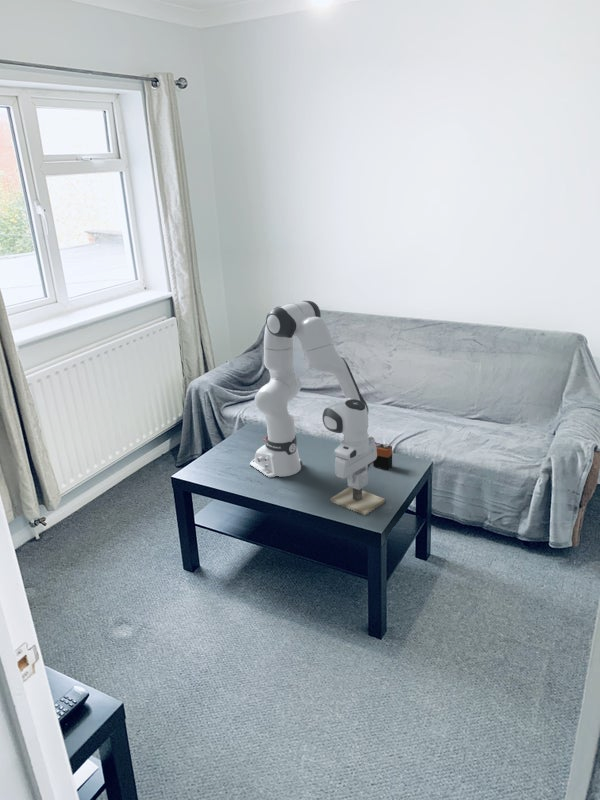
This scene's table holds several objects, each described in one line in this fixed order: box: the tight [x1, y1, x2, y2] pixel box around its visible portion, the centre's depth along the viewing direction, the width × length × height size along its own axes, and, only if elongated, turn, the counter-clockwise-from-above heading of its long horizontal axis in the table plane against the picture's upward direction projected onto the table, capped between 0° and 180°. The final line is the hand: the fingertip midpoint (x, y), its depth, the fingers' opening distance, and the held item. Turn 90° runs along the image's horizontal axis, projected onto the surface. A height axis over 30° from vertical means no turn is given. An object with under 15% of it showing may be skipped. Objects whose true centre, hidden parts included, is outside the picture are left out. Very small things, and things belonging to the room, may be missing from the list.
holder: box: [329, 486, 386, 516], centre depth 225 cm, size 16×12×6 cm
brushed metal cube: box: [346, 468, 369, 490], centre depth 222 cm, size 5×5×6 cm
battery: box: [372, 442, 393, 471], centre depth 249 cm, size 4×7×10 cm, turn 57°
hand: (357, 479), depth 223 cm, fingers closed on brushed metal cube, 5 cm apart
